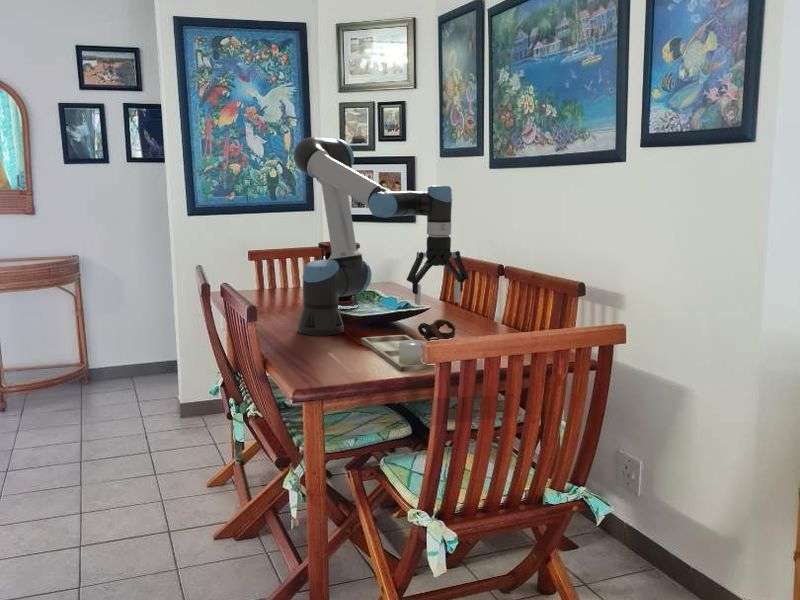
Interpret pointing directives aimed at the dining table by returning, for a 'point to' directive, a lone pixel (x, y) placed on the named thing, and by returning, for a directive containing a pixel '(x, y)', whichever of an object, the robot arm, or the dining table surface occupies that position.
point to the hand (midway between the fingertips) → (437, 303)
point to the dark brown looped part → (436, 330)
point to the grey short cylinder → (410, 352)
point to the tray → (392, 351)
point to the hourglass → (327, 247)
